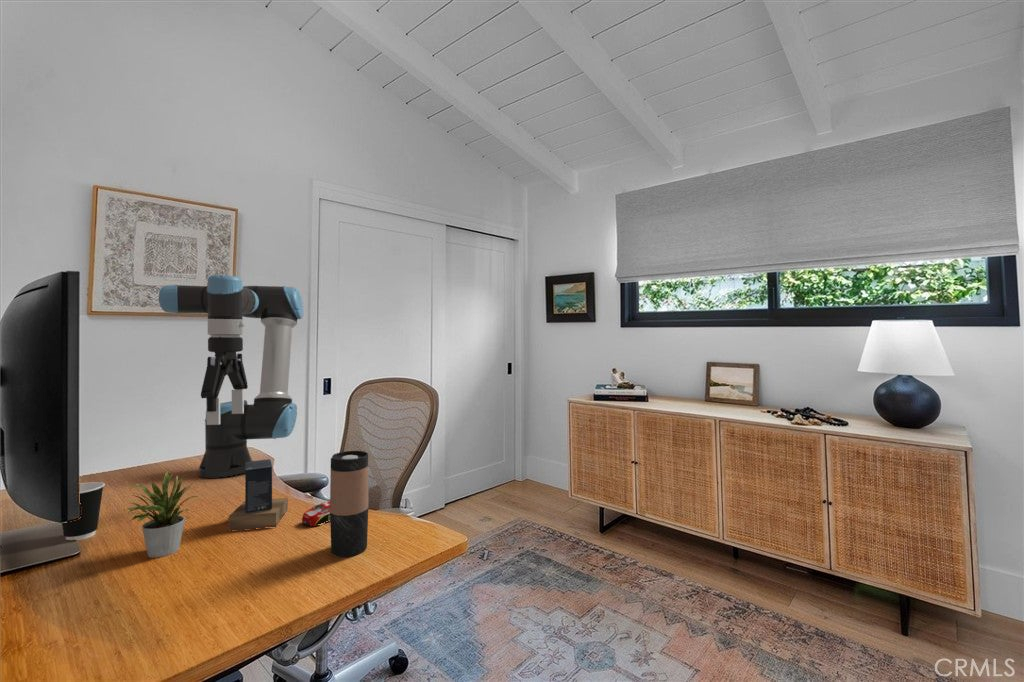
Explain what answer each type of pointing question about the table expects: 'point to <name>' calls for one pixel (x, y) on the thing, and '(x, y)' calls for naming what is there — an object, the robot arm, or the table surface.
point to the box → (258, 486)
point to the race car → (317, 514)
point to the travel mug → (349, 503)
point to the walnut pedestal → (258, 516)
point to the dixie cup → (86, 512)
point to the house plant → (162, 518)
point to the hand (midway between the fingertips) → (226, 418)
